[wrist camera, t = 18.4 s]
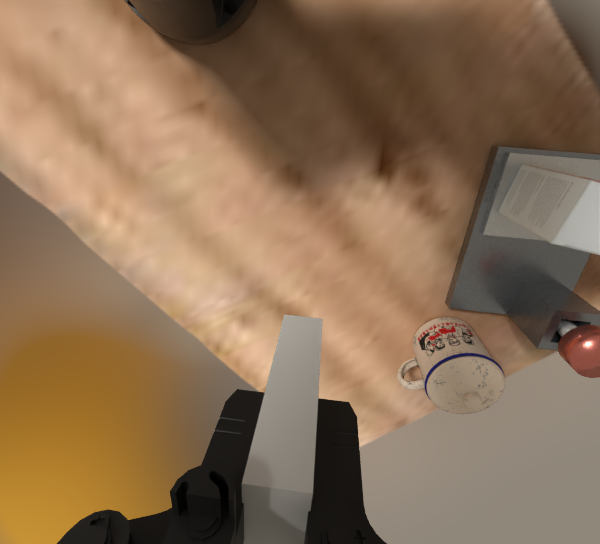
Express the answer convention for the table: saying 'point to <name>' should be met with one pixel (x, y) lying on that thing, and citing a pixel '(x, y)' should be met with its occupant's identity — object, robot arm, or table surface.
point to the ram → (580, 347)
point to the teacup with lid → (454, 367)
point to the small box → (556, 207)
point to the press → (521, 254)
